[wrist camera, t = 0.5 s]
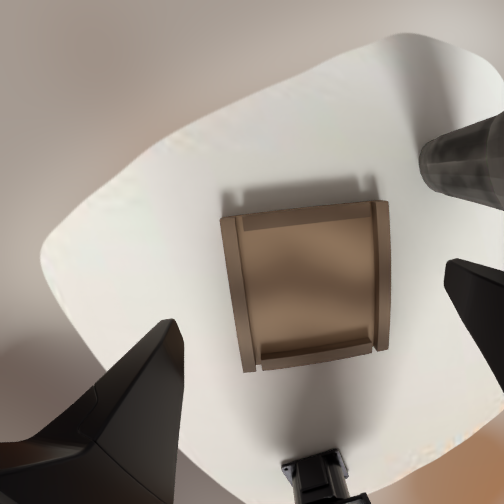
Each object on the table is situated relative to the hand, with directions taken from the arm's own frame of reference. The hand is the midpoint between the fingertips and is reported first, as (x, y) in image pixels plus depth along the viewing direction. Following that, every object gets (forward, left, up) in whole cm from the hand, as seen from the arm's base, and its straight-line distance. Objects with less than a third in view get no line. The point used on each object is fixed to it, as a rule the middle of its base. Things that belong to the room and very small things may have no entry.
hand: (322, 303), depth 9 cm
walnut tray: (-5, -1, -14) cm, 15 cm away
